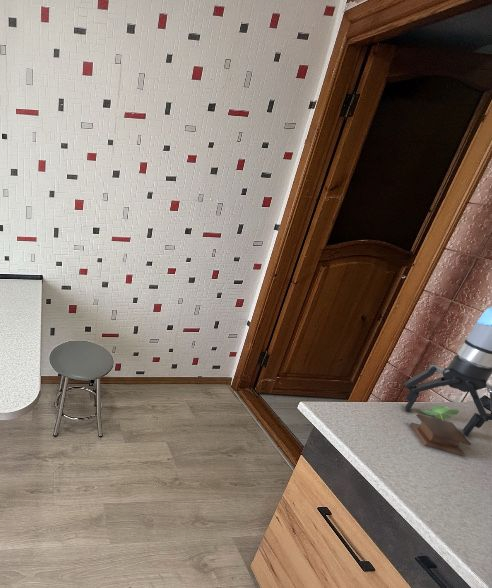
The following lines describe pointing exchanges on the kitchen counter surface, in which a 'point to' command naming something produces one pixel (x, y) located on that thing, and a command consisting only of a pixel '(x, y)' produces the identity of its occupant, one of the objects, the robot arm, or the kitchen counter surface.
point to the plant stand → (439, 434)
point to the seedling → (441, 412)
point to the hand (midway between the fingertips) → (434, 420)
